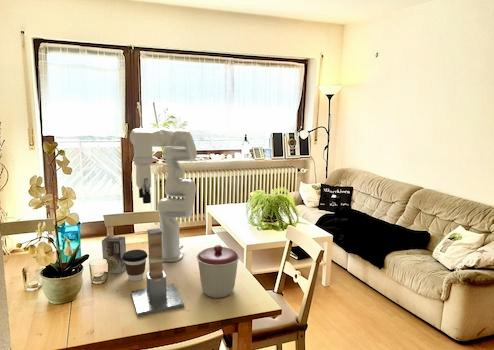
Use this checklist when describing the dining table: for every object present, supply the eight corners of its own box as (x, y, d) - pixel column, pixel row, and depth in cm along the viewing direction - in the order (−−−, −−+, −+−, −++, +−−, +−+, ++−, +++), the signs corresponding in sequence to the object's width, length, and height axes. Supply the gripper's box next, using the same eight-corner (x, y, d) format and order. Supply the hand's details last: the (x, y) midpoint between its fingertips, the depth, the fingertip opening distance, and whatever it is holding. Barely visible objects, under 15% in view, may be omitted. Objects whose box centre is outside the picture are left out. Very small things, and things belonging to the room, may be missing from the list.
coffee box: (127, 268, 186) (125, 236, 183) (121, 274, 180) (120, 241, 176) (109, 267, 187) (107, 235, 184) (103, 272, 180) (101, 240, 177)
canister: (236, 280, 174) (236, 237, 170) (241, 301, 157) (242, 253, 153) (196, 283, 172) (195, 238, 168) (197, 304, 154) (196, 255, 150)
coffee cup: (141, 285, 169) (140, 259, 167) (118, 282, 171) (117, 257, 169) (152, 274, 180) (151, 250, 177) (130, 271, 182) (129, 248, 179)
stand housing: (131, 294, 161) (129, 269, 159) (173, 286, 168) (173, 262, 166) (137, 316, 145) (136, 288, 143) (184, 306, 152) (183, 280, 150)
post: (149, 276, 156) (147, 229, 152) (160, 274, 158) (159, 228, 154) (151, 281, 152) (149, 233, 148) (163, 279, 153) (161, 231, 150)
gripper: (131, 158, 166) (132, 196, 170) (137, 164, 151) (139, 206, 154) (148, 157, 169) (150, 194, 173) (156, 163, 154) (157, 204, 157)
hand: (144, 200), depth 163 cm, fingers open, 9 cm apart
